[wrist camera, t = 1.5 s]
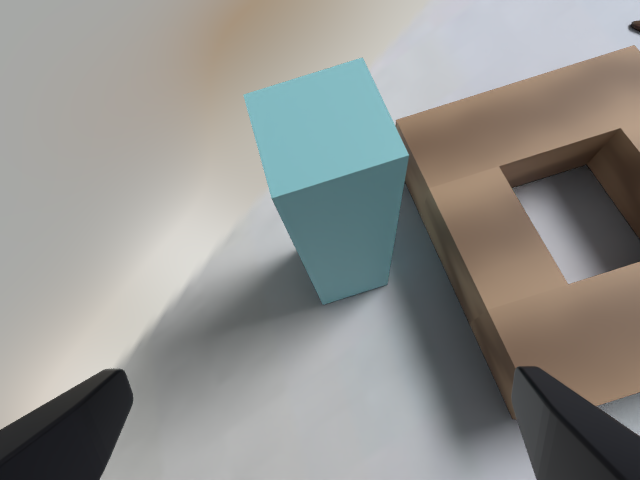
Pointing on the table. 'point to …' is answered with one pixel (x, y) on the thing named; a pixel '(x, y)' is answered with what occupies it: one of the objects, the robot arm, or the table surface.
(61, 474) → the robot arm
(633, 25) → the spoon
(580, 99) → the walnut socket block
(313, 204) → the teal peg
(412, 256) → the table surface
